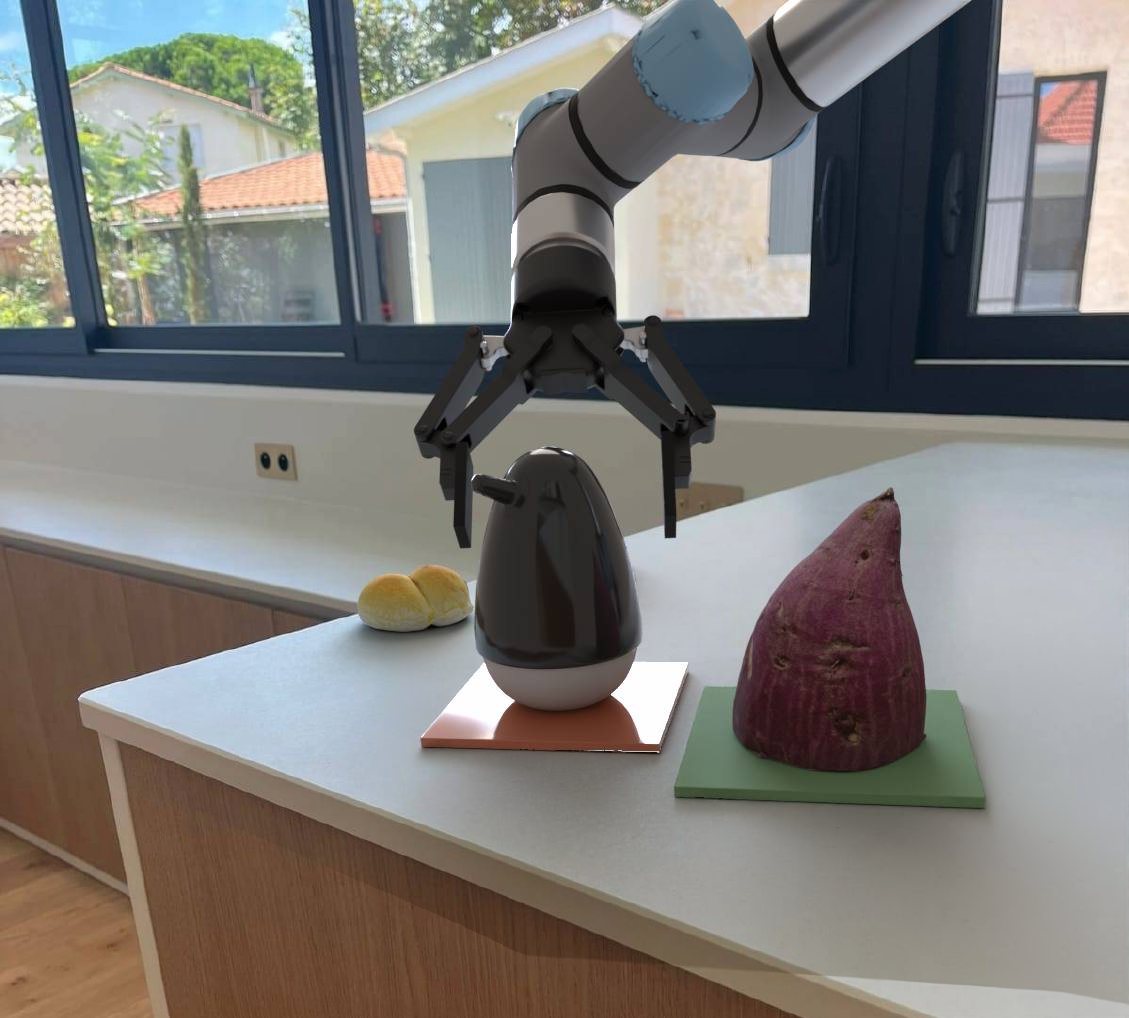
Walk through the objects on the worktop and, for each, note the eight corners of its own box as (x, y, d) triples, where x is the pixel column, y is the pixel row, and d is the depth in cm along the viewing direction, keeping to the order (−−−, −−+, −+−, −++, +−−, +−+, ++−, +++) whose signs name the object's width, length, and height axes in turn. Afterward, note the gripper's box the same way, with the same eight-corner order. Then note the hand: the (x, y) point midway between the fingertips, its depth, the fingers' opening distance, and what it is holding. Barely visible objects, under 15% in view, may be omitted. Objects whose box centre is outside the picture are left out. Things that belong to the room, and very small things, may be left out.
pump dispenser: (445, 700, 72) (419, 453, 66) (572, 659, 78) (558, 429, 72) (548, 742, 65) (528, 468, 59) (678, 693, 71) (673, 440, 65)
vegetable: (920, 764, 67) (1015, 510, 61) (889, 817, 58) (997, 525, 52) (751, 703, 70) (827, 457, 65) (697, 744, 61) (780, 463, 56)
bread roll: (352, 614, 94) (346, 566, 93) (458, 599, 97) (454, 552, 95) (369, 641, 87) (362, 589, 85) (483, 623, 89) (479, 573, 88)
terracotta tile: (688, 671, 76) (688, 662, 76) (659, 753, 64) (659, 744, 64) (486, 668, 79) (485, 660, 79) (420, 747, 67) (419, 737, 67)
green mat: (955, 699, 69) (956, 689, 68) (984, 808, 55) (985, 797, 55) (704, 694, 72) (704, 685, 72) (674, 797, 59) (673, 786, 58)
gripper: (734, 307, 85) (754, 553, 77) (403, 328, 87) (389, 571, 79) (741, 227, 78) (763, 488, 70) (381, 251, 80) (363, 509, 72)
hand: (565, 532), depth 75 cm, fingers open, 13 cm apart
